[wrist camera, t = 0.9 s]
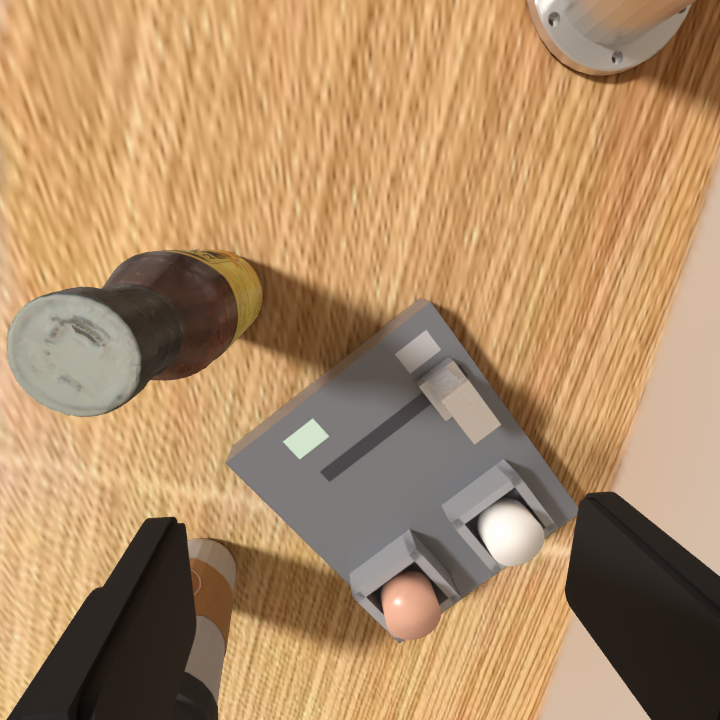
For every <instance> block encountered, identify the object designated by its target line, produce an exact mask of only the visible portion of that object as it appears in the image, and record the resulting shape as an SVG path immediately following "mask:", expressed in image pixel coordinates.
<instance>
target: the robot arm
mask: <svg viewBox="0 0 720 720" xmlns="http://www.w3.org/2000/svg"><path fill="white" fill-rule="evenodd" d="M695 1H696V0H527V2H528V6H529V10H530V14H531V17H532V21H533V23H534V25H535V27H536V30H537V32H538V34H539V36H540V38H541V39H542V41H543V42H544V44H545V45H546V46H547V48H548V49H549V51H550V52H551V53H552V54H553V55H554V56H555V57H557V58H558V59H559V60H560V61H561V62H562V63H564V64H565V65H567V66H569V67H570V68H572V69H574V70H576V71H579V72H582V73H585V74H589V75H601V76H606V75H612V74H618V73H621V72H624V71H626V70H629V69H631V68H634V67H636V66H637V65H639V64H641V63H642V62H644V61H646V60H647V59H649V58H651V57H652V56H653V55H654V54H656V53H657V52H658V51H659V50H661V49H662V48H663V47H664V46H665V45H666V44H667V43H668V42H669V41H670V39H671V38H672V37H673V36H674V35H675V34H676V32H677V31H678V29H679V28H680V26H681V24H682V23H683V21H684V20H685V18H686V16H687V14H688V12H689V10H690V7H691V5H692V3H693V2H695ZM565 594H566V599H567V601H568V604H569V606H570V607H571V609H572V610H573V612H574V613H575V614H576V616H577V617H578V618H579V620H580V621H581V622H582V624H583V625H584V627H585V628H586V630H587V631H588V632H589V634H590V635H591V637H592V638H593V639H594V640H595V642H596V643H597V645H598V646H599V647H600V649H601V650H602V652H603V653H604V655H605V656H606V657H607V659H608V660H609V662H610V663H611V664H612V666H613V667H614V669H615V670H616V671H617V673H618V674H619V676H620V677H621V678H622V680H623V681H624V682H625V684H626V685H627V687H628V688H629V689H630V691H631V692H632V694H633V695H634V696H635V698H636V699H637V701H638V702H639V703H640V705H641V706H642V708H643V709H644V710H645V712H646V713H647V715H648V716H649V717H650V719H651V720H720V576H718V575H717V574H716V573H715V572H713V571H712V570H711V569H710V568H709V567H707V566H706V565H705V564H704V563H702V562H701V561H700V560H698V559H697V558H696V557H695V556H694V555H692V554H691V553H690V552H689V551H687V550H686V549H685V548H683V547H682V546H681V545H680V544H679V543H677V542H676V541H675V540H674V539H672V538H671V537H670V536H669V535H667V534H666V533H665V532H664V531H662V530H661V529H660V528H659V527H657V526H656V525H655V524H654V523H652V522H651V521H650V520H648V518H646V517H645V516H644V515H642V514H641V513H640V512H639V511H638V510H636V509H635V508H634V507H633V506H631V505H630V504H629V503H628V502H626V501H625V500H624V499H623V498H621V497H620V496H619V495H618V494H616V493H614V492H597V493H589V494H587V495H586V496H585V498H584V499H583V500H581V501H580V503H579V507H578V513H577V519H576V525H575V531H574V538H573V544H572V550H571V556H570V562H569V568H568V574H567V580H566V587H565ZM196 626H197V620H196V611H195V602H194V593H193V585H192V576H191V568H190V559H189V551H188V542H187V533H186V527H185V524H184V523H177V520H176V518H175V517H162V518H148V519H146V520H145V521H144V523H143V524H142V526H141V527H140V529H139V531H138V532H137V534H136V535H135V537H134V538H133V540H132V542H131V543H130V545H129V546H128V548H127V550H126V551H125V553H124V554H123V556H122V558H121V559H120V561H119V562H118V564H117V565H116V567H115V569H114V570H113V572H112V573H111V575H110V577H109V578H108V580H107V581H106V583H105V584H104V586H103V587H99V588H96V589H95V590H93V591H92V592H91V593H90V594H89V596H88V597H87V598H86V600H85V601H84V603H83V604H82V606H81V607H80V609H79V610H78V612H77V613H76V615H75V616H74V618H73V620H72V621H71V623H70V624H69V626H68V627H67V629H66V630H65V632H64V633H63V635H62V636H61V638H60V639H59V641H58V642H57V644H56V645H55V647H54V648H53V650H52V651H51V653H50V654H49V656H48V658H47V659H46V661H45V662H44V664H43V665H42V667H41V668H40V670H39V671H38V673H37V674H36V676H35V677H34V679H33V680H32V682H31V683H30V685H29V686H28V688H27V689H26V691H25V693H24V694H23V696H22V697H21V699H20V700H19V702H18V703H17V705H16V706H15V708H14V709H13V711H12V712H11V714H10V715H9V717H8V718H7V720H170V717H171V714H172V710H173V707H174V704H175V701H176V697H177V694H178V691H179V688H180V684H181V681H182V678H183V675H184V672H185V668H186V665H187V662H188V659H189V655H190V652H191V649H192V646H193V642H194V639H195V634H196Z"/></svg>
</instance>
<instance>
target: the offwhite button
mask: <svg viewBox="0 0 720 720" xmlns="http://www.w3.org/2000/svg"><path fill="white" fill-rule="evenodd" d="M477 529H478V533H479V535H480V537H481V538H482V540H483V542H484V543H485V545H486V547H487V548H488V550H489V552H490V553H491V555H492V557H493V558H494V559H495V560H496V561H497V562H498V563H500V564H502V565H506V566H518V565H522V564H525V563H527V562H529V561H530V560H532V559H533V558H534V557H535V556H536V555H537V554H538V553H539V552H540V550H541V548H542V546H543V543H544V531H543V528H542V526H541V525H540V524H539V522H538V521H537V520H536V519H535V518H534V517H533V515H532V514H531V513H530V512H529V511H528V510H527V508H526V507H525V506H524V505H523V504H522V503H521V502H519V501H517V500H515V499H509V498H505V499H500V500H497V501H495V502H494V503H493V504H491V505H490V506H489V507H487V508H486V509H485V510H483V511H482V512H481V514H480V516H479V519H478V523H477Z"/></svg>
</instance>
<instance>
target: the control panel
mask: <svg viewBox="0 0 720 720" xmlns="http://www.w3.org/2000/svg"><path fill="white" fill-rule="evenodd" d="M447 357H449V358H451V359H452V360H453V361H454V362H455V363H456V365H457V366H458V367H459V369H460V370H461V371H462V373H463V374H464V376H465V377H466V378H467V379H468V380H469V381H470V383H471V384H472V385H473V387H474V388H475V390H476V391H477V392H478V394H479V395H480V396H481V398H482V399H483V400H484V402H485V403H486V404H487V406H488V407H489V409H490V410H491V411H492V413H493V414H494V415H495V417H496V418H497V419H498V421H499V422H500V424H501V425H500V426H499V427H497V428H496V429H495V430H493V431H492V432H491V433H489V434H488V435H487V436H485V437H484V438H483V439H481V440H480V441H479V442H477V443H476V444H475V445H474V444H473V442H472V441H471V440H470V439H469V438H468V436H467V435H466V434H465V432H464V431H463V430H462V429H461V427H460V426H459V425H458V423H457V422H456V421H455V419H454V418H453V417H451V418H450V419H448V420H447V421H445V420H444V418H443V417H442V416H441V415H440V413H439V412H438V411H437V410H436V408H435V407H434V406H433V405H432V403H431V402H430V401H429V399H428V398H427V397H426V396H425V394H424V393H423V392H422V390H421V389H420V388H419V387H418V385H417V384H416V383H415V382H416V381H417V380H419V379H420V378H421V377H423V376H424V375H425V374H426V373H428V372H429V371H430V370H432V369H433V368H434V367H436V366H437V365H438V364H439V363H441V362H442V361H443V360H445V359H446V358H447ZM226 464H227V465H228V466H229V467H230V468H231V469H232V470H233V471H234V472H235V473H236V474H237V475H238V476H239V477H240V478H241V479H242V480H243V481H244V482H245V483H246V484H247V485H248V486H249V487H250V488H251V489H252V490H253V491H254V492H255V493H256V494H257V495H258V496H259V497H260V498H261V499H262V500H263V501H264V502H266V503H267V504H268V505H269V506H270V507H271V508H272V509H273V510H274V511H275V512H276V513H277V514H278V515H279V516H280V517H281V518H282V519H283V520H284V521H285V522H286V523H287V524H288V525H289V526H290V527H291V528H292V529H293V530H294V531H295V532H296V533H297V534H298V535H299V536H300V537H301V538H302V539H303V540H304V541H305V542H306V543H307V544H308V545H309V546H310V547H311V548H312V549H313V550H314V551H315V552H316V553H317V554H318V555H319V556H320V557H321V558H322V559H324V560H325V561H326V562H327V563H328V564H329V565H330V566H331V567H332V568H333V569H334V570H335V571H336V572H337V573H338V574H339V575H340V576H341V577H342V578H343V579H344V580H345V581H346V582H347V583H348V584H349V585H350V586H351V592H352V597H353V598H354V599H355V600H356V601H357V602H358V603H359V604H360V605H361V606H362V607H363V608H364V609H365V610H366V611H367V612H368V613H369V614H370V615H371V616H372V617H373V618H374V619H375V620H376V621H377V622H378V623H379V624H380V625H381V626H382V627H383V628H384V629H385V630H387V631H388V632H389V633H390V631H389V630H388V628H387V626H386V621H385V616H384V611H383V606H382V601H381V590H382V587H383V585H384V584H385V583H386V582H387V581H388V580H390V579H391V578H392V577H394V576H395V575H397V574H398V573H399V572H403V571H417V572H420V573H422V574H424V575H425V576H426V577H427V578H428V579H429V580H430V582H431V585H432V587H433V590H434V593H435V595H436V598H437V601H438V604H439V606H440V610H441V613H443V612H444V611H445V610H447V609H448V608H450V607H451V606H452V605H454V604H455V603H457V602H458V601H459V600H461V599H462V598H463V597H465V596H466V595H468V594H469V593H470V592H472V591H473V590H474V589H476V588H477V587H479V586H480V585H481V584H483V583H484V582H486V581H487V580H488V579H490V578H491V577H492V576H494V575H495V574H497V573H498V572H499V571H501V570H502V569H503V568H505V567H506V565H502V564H500V563H498V562H497V561H496V560H495V559H494V558H493V557H492V555H491V553H490V552H489V550H488V548H487V547H486V545H485V543H484V542H483V540H482V538H481V537H480V535H479V533H478V529H477V523H478V519H479V516H480V514H481V512H482V511H483V510H485V509H486V508H487V507H489V506H490V505H491V504H493V503H494V502H495V501H497V500H500V499H505V498H509V499H515V500H517V501H519V502H521V503H522V504H523V505H524V506H525V507H526V508H527V510H528V511H529V512H530V513H531V514H532V515H533V517H534V518H535V519H536V520H537V521H538V522H539V524H540V525H541V526H542V528H543V531H544V539H545V538H546V537H548V536H549V535H550V534H552V533H553V532H555V531H556V530H557V529H559V528H560V527H561V526H563V525H564V524H566V523H567V522H568V521H570V520H571V519H572V518H574V517H575V516H577V513H578V506H577V505H576V503H575V502H574V501H573V499H572V498H571V496H570V495H569V494H568V492H567V491H566V489H565V488H564V487H563V485H562V484H561V482H560V481H559V480H558V478H557V477H556V476H555V474H554V473H553V471H552V470H551V469H550V467H549V466H548V464H547V463H546V462H545V460H544V459H543V457H542V456H541V455H540V453H539V452H538V450H537V449H536V448H535V446H534V445H533V443H532V442H531V441H530V439H529V438H528V437H527V435H526V434H525V432H524V431H523V430H522V428H521V427H520V425H519V424H518V423H517V421H516V420H515V418H514V417H513V416H512V414H511V413H510V411H509V410H508V409H507V407H506V406H505V404H504V403H503V402H502V400H501V399H500V398H499V396H498V395H497V393H496V392H495V391H494V389H493V388H492V386H491V385H490V384H489V382H488V381H487V379H486V378H485V377H484V375H483V374H482V372H481V371H480V370H479V368H478V367H477V365H476V364H475V363H474V361H473V360H472V359H471V357H470V356H469V354H468V353H467V352H466V350H465V349H464V347H463V346H462V345H461V343H460V342H459V340H458V339H457V338H456V336H455V335H454V333H453V332H452V331H451V329H450V328H449V326H448V325H447V324H446V322H445V321H444V320H443V318H442V317H441V315H440V314H439V313H438V311H437V310H436V308H435V307H434V306H433V304H432V303H431V302H430V301H427V300H425V299H422V298H420V299H418V300H417V301H416V302H414V303H413V304H412V305H411V306H409V307H408V308H407V309H406V310H404V311H403V312H402V313H401V314H399V315H398V316H397V317H395V318H394V319H393V320H392V321H390V322H389V323H388V324H387V325H385V326H384V327H383V328H381V329H380V330H379V331H378V332H376V333H375V334H374V335H373V336H371V337H370V338H369V339H368V340H366V341H365V342H364V343H362V344H361V345H360V346H359V347H357V348H356V349H355V350H354V351H352V352H351V353H350V354H349V355H347V356H346V357H345V358H343V359H342V360H341V361H340V362H338V363H337V364H336V365H335V366H333V367H332V368H331V369H329V370H328V371H327V372H326V373H324V374H323V375H322V376H321V377H319V378H318V379H317V380H316V381H314V382H313V383H312V384H310V385H309V386H308V387H307V388H305V389H304V390H303V391H302V392H300V393H299V394H298V395H297V396H295V397H294V398H293V399H291V400H290V401H289V402H288V403H286V404H285V405H284V406H283V407H281V408H280V409H279V410H277V411H276V412H275V413H274V414H272V415H271V416H270V417H269V418H267V419H266V420H265V421H264V422H262V423H261V424H260V425H258V426H257V427H256V428H255V429H253V430H252V431H251V432H250V433H248V434H247V435H246V436H245V437H243V438H242V439H241V440H239V441H238V442H237V443H236V444H234V445H233V446H232V449H231V451H230V453H229V456H228V458H227V461H226ZM390 634H391V633H390ZM391 635H392V636H393V637H394V638H395V639H396V640H397V641H398V642H399V643H401V642H402V641H404V639H400V638H397V637H395V636H394V635H393V634H391Z"/></svg>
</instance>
